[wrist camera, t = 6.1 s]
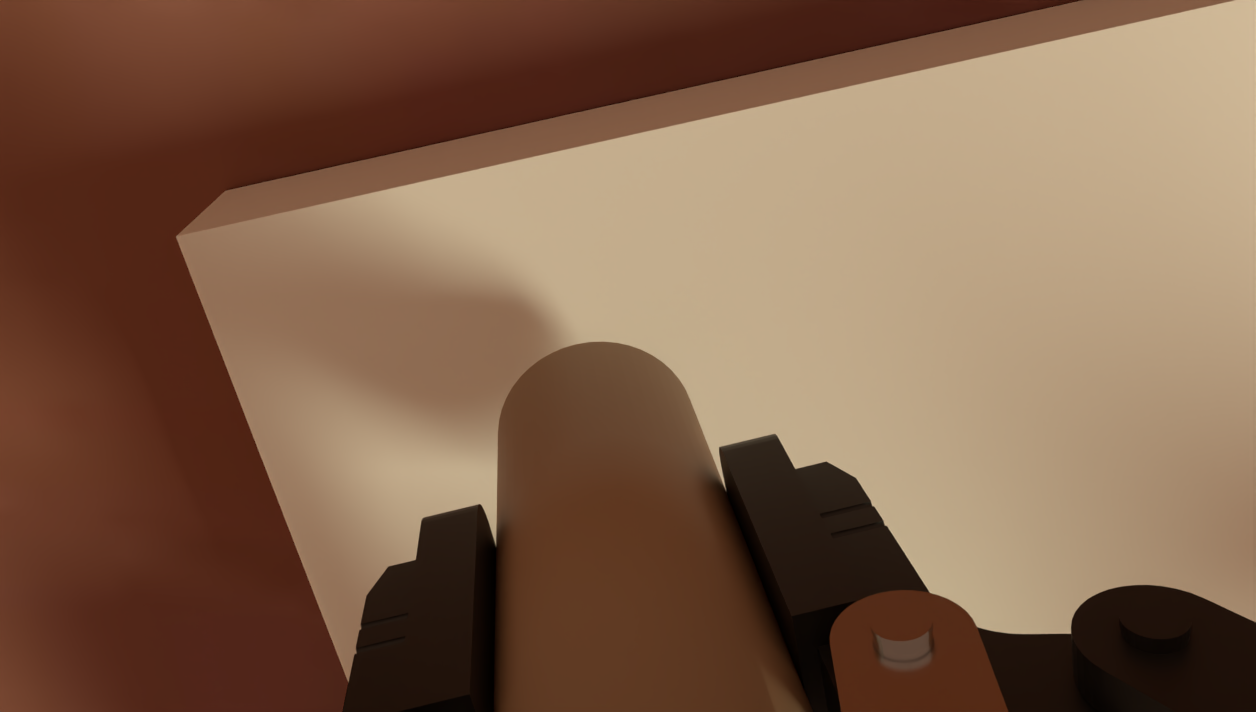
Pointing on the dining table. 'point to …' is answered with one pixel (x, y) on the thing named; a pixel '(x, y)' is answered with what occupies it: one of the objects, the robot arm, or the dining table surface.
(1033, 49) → the shelf
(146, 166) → the dining table surface
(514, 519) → the pull block
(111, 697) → the dining table surface
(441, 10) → the dining table surface
